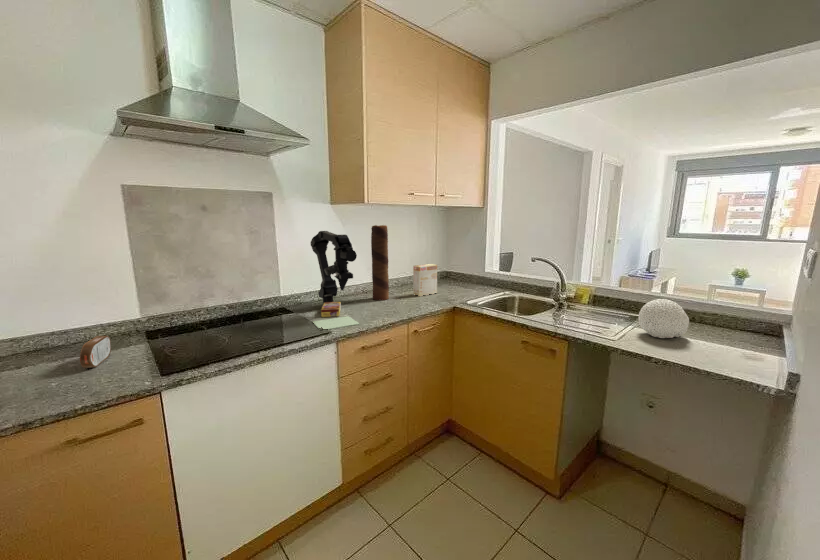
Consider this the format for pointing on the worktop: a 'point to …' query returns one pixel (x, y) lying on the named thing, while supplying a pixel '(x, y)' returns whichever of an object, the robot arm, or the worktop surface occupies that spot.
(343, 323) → the mat
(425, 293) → the coffeecake box
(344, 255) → the robot arm
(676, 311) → the white rounded lump
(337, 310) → the candy box
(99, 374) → the worktop surface
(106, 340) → the tin
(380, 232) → the wafer roll
